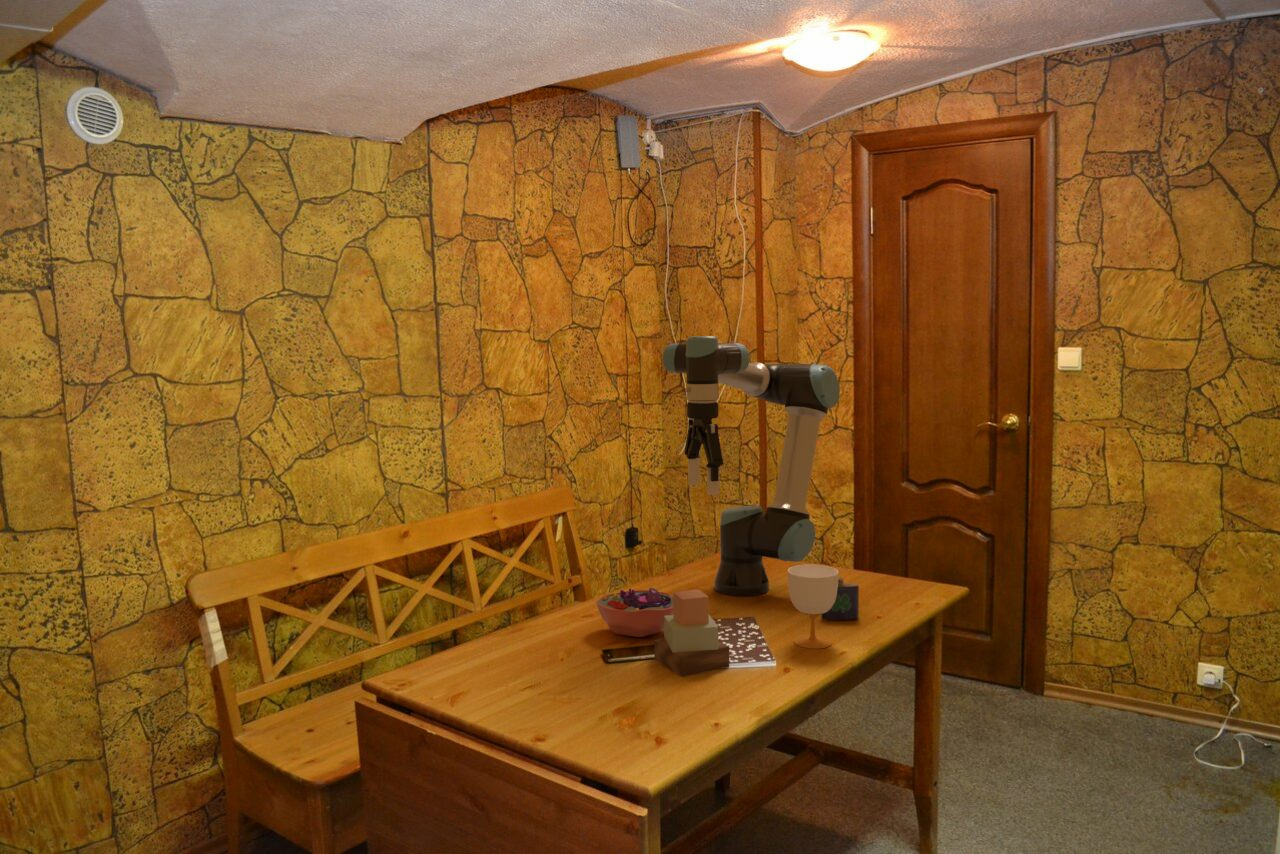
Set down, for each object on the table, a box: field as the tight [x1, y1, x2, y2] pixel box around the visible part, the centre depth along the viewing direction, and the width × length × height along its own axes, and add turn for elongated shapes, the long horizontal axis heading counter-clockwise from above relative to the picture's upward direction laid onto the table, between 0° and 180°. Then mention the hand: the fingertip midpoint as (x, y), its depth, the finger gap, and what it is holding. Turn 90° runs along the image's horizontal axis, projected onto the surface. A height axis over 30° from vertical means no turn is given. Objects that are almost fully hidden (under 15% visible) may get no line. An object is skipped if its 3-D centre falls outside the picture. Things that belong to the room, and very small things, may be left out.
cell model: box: [595, 587, 674, 638], centre depth 224 cm, size 17×20×11 cm
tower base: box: [653, 637, 730, 678], centre depth 205 cm, size 12×12×5 cm
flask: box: [821, 576, 860, 622], centre depth 232 cm, size 9×3×11 cm, turn 87°
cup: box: [787, 563, 840, 650], centre depth 216 cm, size 12×12×17 cm
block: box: [672, 589, 710, 627], centre depth 204 cm, size 6×6×6 cm
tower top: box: [663, 614, 719, 653], centre depth 204 cm, size 10×10×5 cm
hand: (703, 489), depth 222 cm, fingers open, 13 cm apart
